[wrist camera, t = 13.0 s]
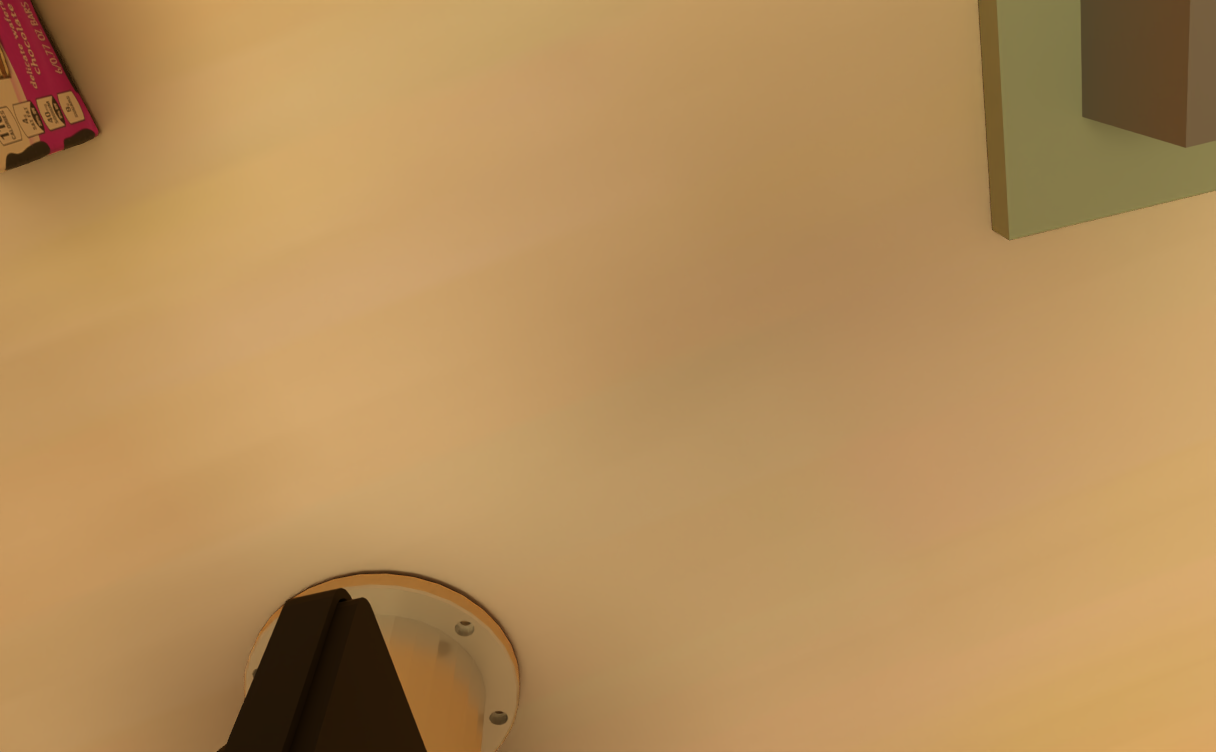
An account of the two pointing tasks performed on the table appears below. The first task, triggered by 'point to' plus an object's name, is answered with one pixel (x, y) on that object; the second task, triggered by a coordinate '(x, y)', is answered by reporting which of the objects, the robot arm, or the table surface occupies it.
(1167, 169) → the pin board
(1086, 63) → the plug housing
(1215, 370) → the table surface
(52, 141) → the candy bar box
